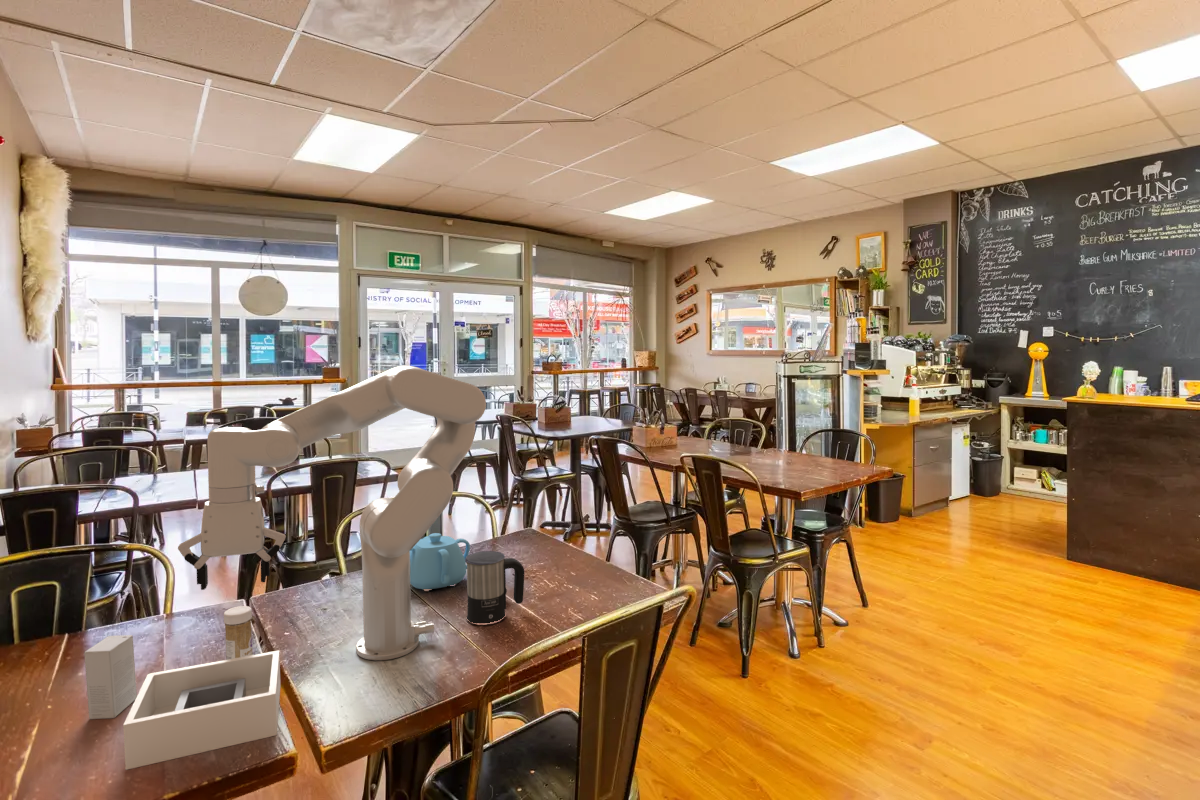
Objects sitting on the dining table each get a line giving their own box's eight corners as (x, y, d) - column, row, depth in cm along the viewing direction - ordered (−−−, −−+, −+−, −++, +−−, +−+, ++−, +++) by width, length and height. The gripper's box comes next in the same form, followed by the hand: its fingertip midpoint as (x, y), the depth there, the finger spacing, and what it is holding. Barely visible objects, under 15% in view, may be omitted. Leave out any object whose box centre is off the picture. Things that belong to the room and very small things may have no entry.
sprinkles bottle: (255, 680, 117) (252, 611, 116) (227, 687, 115) (224, 617, 113) (253, 669, 121) (250, 603, 120) (225, 676, 118) (223, 608, 117)
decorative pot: (429, 570, 177) (428, 523, 176) (477, 577, 171) (477, 529, 170) (391, 590, 162) (390, 539, 160) (443, 599, 156) (442, 546, 155)
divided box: (280, 686, 115) (279, 650, 114) (277, 734, 100) (275, 693, 100) (149, 712, 106) (147, 673, 106) (125, 769, 92) (123, 725, 91)
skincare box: (112, 699, 110) (108, 635, 109) (137, 699, 110) (134, 634, 110) (87, 720, 104) (83, 651, 103) (113, 719, 104) (110, 650, 103)
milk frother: (478, 630, 139) (477, 566, 137) (445, 608, 150) (444, 549, 149) (530, 613, 148) (530, 553, 147) (495, 593, 160) (495, 537, 159)
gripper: (285, 486, 122) (286, 571, 123) (180, 493, 114) (183, 583, 116) (284, 494, 115) (285, 584, 116) (172, 502, 108) (175, 597, 109)
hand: (234, 583), depth 116 cm, fingers open, 9 cm apart
